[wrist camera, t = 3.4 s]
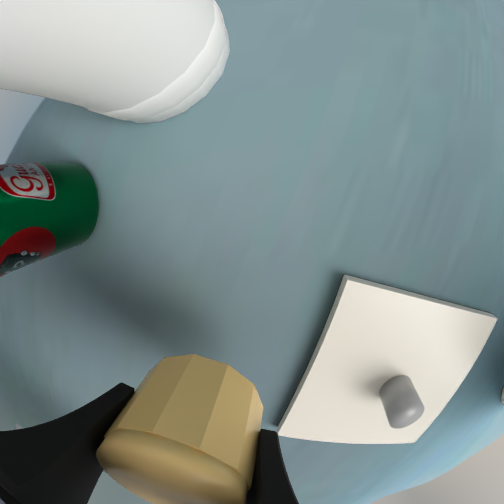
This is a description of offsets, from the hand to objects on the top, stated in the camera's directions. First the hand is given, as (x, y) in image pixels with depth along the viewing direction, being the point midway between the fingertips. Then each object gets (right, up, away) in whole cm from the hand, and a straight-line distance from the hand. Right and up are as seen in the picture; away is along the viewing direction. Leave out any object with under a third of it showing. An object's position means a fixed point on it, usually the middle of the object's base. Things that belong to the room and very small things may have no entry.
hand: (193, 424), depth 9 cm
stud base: (+11, -1, +5) cm, 13 cm away
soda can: (-8, +10, +5) cm, 14 cm away
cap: (0, 0, +1) cm, 2 cm away
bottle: (-2, +17, +2) cm, 18 cm away
